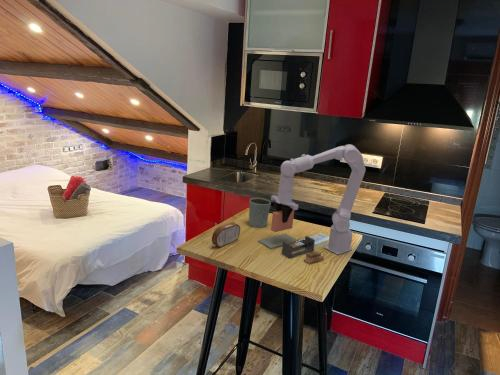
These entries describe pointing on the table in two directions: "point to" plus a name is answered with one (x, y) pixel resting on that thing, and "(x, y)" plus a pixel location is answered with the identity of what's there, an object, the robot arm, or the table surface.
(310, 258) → the offcut stack
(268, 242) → the mat
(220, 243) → the tin
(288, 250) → the rack
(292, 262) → the table surface
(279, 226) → the salmon pink rectangular block
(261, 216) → the grey cylindrical pot
